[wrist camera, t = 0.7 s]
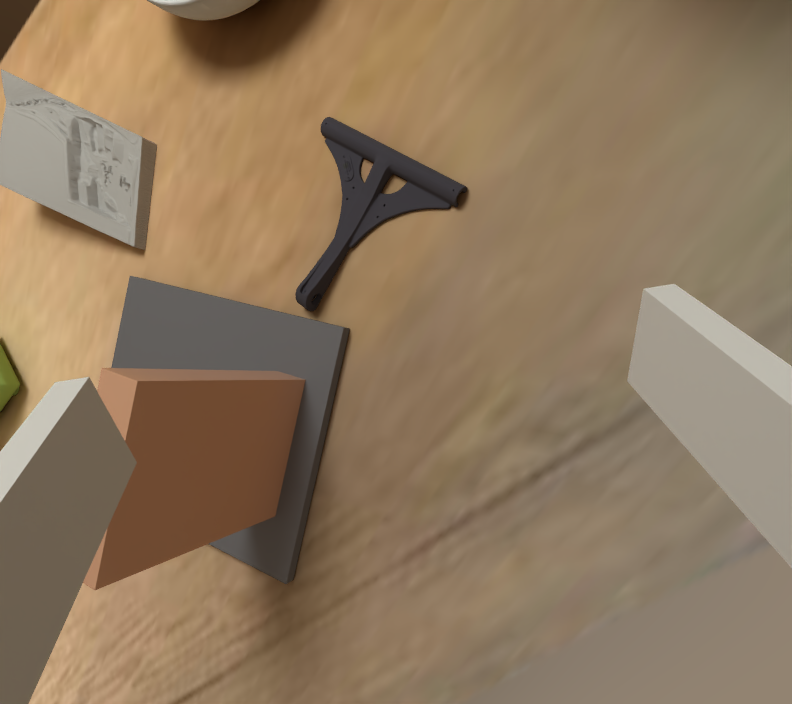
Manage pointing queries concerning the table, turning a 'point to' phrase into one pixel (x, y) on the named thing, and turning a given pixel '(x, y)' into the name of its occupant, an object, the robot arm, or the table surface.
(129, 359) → the mat
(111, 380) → the tile
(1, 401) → the teapot
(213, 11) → the serving bowl
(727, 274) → the table surface
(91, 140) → the ramp
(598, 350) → the table surface
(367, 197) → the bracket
